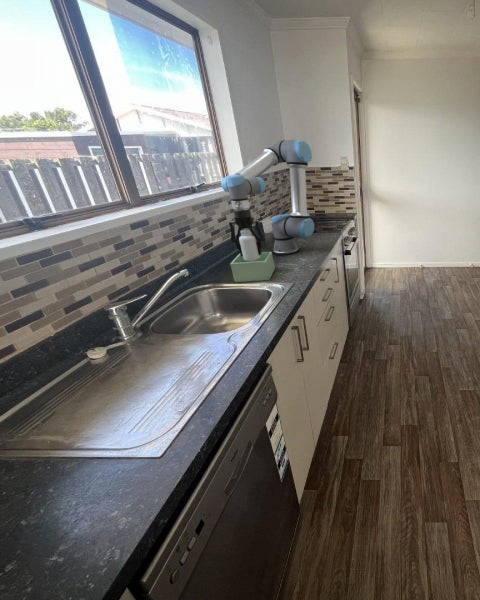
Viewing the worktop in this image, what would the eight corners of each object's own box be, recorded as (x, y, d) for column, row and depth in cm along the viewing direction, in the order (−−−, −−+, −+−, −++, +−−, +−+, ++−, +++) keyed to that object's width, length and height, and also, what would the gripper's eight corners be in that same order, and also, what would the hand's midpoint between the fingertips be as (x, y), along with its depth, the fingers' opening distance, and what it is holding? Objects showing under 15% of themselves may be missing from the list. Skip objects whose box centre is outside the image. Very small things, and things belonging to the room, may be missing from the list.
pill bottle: (240, 260, 166) (233, 230, 160) (252, 255, 173) (246, 227, 166) (252, 262, 163) (245, 232, 157) (263, 257, 170) (258, 228, 164)
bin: (243, 271, 178) (239, 253, 174) (274, 268, 181) (271, 251, 177) (234, 282, 164) (230, 263, 159) (269, 279, 166) (265, 261, 162)
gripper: (215, 211, 153) (227, 258, 162) (262, 209, 156) (271, 255, 165) (221, 208, 159) (231, 253, 169) (265, 207, 162) (273, 251, 172)
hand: (251, 254), depth 167 cm, fingers closed on pill bottle, 8 cm apart
